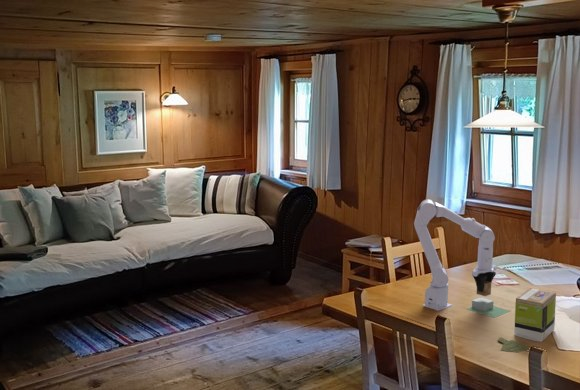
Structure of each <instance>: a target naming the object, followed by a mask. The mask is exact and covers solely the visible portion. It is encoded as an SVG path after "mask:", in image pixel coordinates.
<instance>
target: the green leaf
mask: <svg viewBox="0 0 580 390" xmlns="http://www.w3.org/2000/svg"><path fill="white" fill-rule="evenodd" d="M497 341H499V342H500V343H502V346H501V348H500V351H502V352H503V351H505V352H513V353H521V352H524V351H526V352H528V351H527V350H529V348H531V346H530V345H526V344H524V343H521V342H518V341H516V340H513V339H510V340H507V339H505V338H503V337H498V339H497Z"/></svg>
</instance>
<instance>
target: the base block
mask: <svg viewBox="0 0 580 390" xmlns="http://www.w3.org/2000/svg"><path fill="white" fill-rule="evenodd" d="M493 306H494V300H492V299H488V298H485V297H478V298H475V299H473V300H471V307H472V308H475V309H479V310H482V311H487V310H489V309H492V308H493Z"/></svg>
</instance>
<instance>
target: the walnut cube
mask: <svg viewBox="0 0 580 390" xmlns="http://www.w3.org/2000/svg"><path fill="white" fill-rule="evenodd" d="M491 294H492V282H488V281H485V283H484V289H483V292H480V291H478V290H477V289H476V295H479V296H482V297H487V296H490V295H491Z"/></svg>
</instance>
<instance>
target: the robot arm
mask: <svg viewBox="0 0 580 390" xmlns="http://www.w3.org/2000/svg"><path fill="white" fill-rule="evenodd" d="M434 217H436V218H440V217H441V218H442V217H443V218H446V219H447V220H450V221H451V222H453V223H456V225H459V226H460V228H461V231H463V232H465V233H466V234H469V235H470V236H472V237H473V238H476V239H477V238H478V247H477V265H476V267H475V268H474V270H471V276H472V277H473V279H474V282H475V284H476V291H477V290H478V291H480V292H483V289H484V283H485V281H488V282H491V283H492V281H493V280H494V278H495V276H496V275H497V273H496V271H497V267H498V266H497V265H496V264H493V257H494V254H493V253H494V241H495V240H496V239H495V238H496V237H495V233H494V232H493V230H492V229H491V228H490V227H489V226H486V225H485V224H482V223H480V222H478V221H476V219H475V218H474V217H472V218H471V217H466V218H465V217H463V216H461V215H460V214H458V213H456V212H454V211H453V210H451V209H449V207H446V206H444V205H443V204H441V203H439V202H436V201H434V200H432V199H428V198H427V199H424V200H422V201H421V203H420V204H419V206H418V207H417V211H416V215H415V219H414V221H413V225H414V229H415V232H416V234H417V237H418V240H419V242H420V244H421V246H422V250H423V252H424V255H425V258H426V259H427V260H426V261H427V263H428V265H429V267H430V268H429V269H430V272H431V277H432V278H431V279H432V280H431V281H430V284H429V287H427V288H426V289H425V291H424V304H422V307H425V308H429V309H432V310H435V311H441V310H445V309H447V308H450V307H452V306H453V305H452V304H451V303H448V302H449V276H448V272H447V269H446V268H445V267H444V266H443V264H442V262H441V260H440V258H439V256H438V252H437V250H436V247H435V245H434V242H433V240H432V237H431V234H430V232H429V229H428V227H427V226H428V224H429V222H430V221H431V220H432V219H433V218H434Z"/></svg>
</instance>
